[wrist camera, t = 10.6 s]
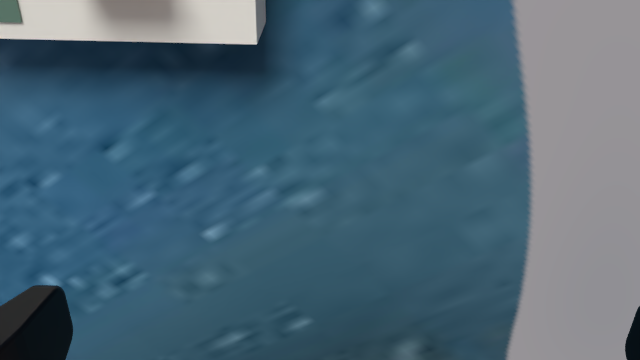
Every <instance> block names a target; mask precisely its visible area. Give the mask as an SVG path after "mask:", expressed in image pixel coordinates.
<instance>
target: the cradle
mask: <svg viewBox="0 0 640 360" xmlns="http://www.w3.org/2000/svg"><path fill="white" fill-rule="evenodd" d="M265 23H266V6H265V0H0V39H37V40H80V41H124V42H168V43H212V44H255V45H257V43H258V41H259V38H260V36H261V33H262V31H263V28H264V26H265Z"/></svg>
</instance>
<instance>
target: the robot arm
mask: <svg viewBox="0 0 640 360" xmlns="http://www.w3.org/2000/svg"><path fill="white" fill-rule="evenodd" d="M72 336H73V325H72V320H71V316H70V312H69V308H68V304H67V300H66V296H65V293H64V291H63V289H62V288H61V287H59V286H48V285H36V286H33V287H31V288H29V289H27V290H26V291H24V292H22V293H21V294H19V295H18V296H16V297H15V298H13V299H11V300H10V301H8V302H7V303H5V304H3V305H2V306H0V360H65V359H66V356H67V353H68V350H69V347H70V344H71V340H72ZM625 352H626V358H627V360H640V306H639V307H638V309H637V312H636V314H635V317H634V320H633V323H632V326H631V328H630V331H629V334H628V337H627V340H626V344H625Z"/></svg>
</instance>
